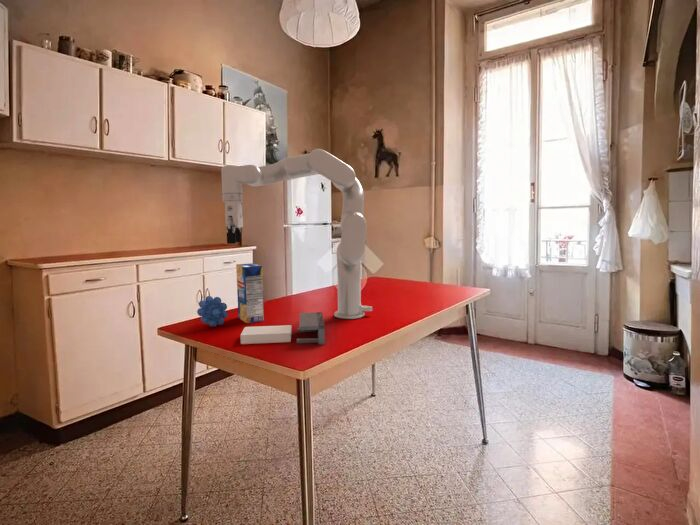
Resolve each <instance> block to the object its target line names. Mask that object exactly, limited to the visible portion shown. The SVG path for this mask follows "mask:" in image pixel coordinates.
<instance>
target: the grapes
mask: <svg viewBox="0 0 700 525" xmlns="http://www.w3.org/2000/svg"><path fill="white" fill-rule="evenodd" d="M198 306H199V308H198V309H197V310H196V313H197V315H198V316H200V321H201V323H202V324H208V325H209V326H210V327H212V328H215V327H216V326H217V325H223V324H225V319H227V318H228V316H229V313H228V311H227V309H228V305H227V304H226V303H225V302H222V299H221V298H220V297H219V296H214V297H213V296H210V295H207V296H206V297H205V298H204V300H203V299H201V300H199V303H198Z"/></svg>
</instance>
